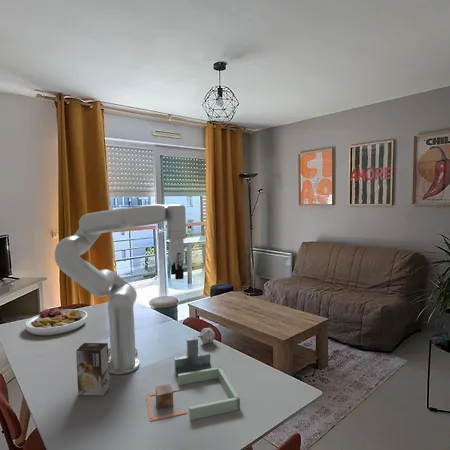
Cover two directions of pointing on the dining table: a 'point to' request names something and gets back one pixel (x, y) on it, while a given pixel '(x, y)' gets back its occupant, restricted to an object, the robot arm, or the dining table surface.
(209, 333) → the game die
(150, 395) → the terracotta bay outline
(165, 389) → the walnut block
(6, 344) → the dining table surface
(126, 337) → the robot arm
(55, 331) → the plate of food
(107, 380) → the coffee box
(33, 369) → the dining table surface
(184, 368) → the rake
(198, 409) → the sage pen
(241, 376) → the dining table surface
